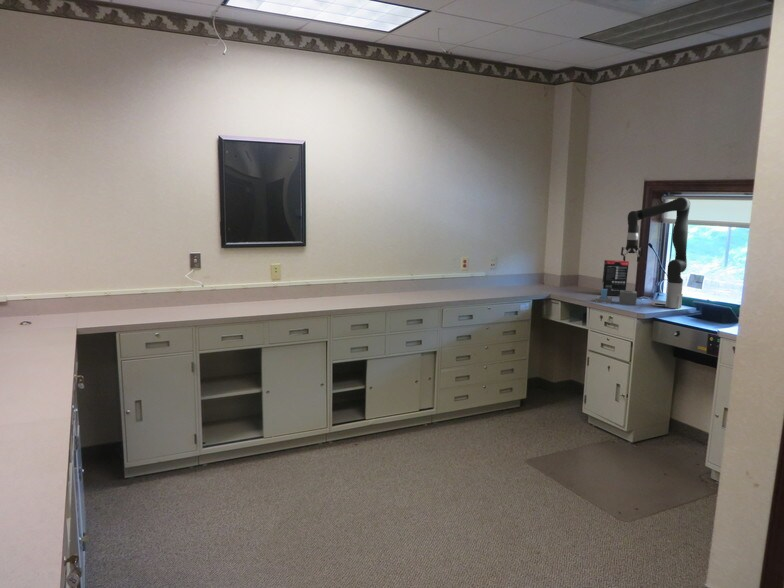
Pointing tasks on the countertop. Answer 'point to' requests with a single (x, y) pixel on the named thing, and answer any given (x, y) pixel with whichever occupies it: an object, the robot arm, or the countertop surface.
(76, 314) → the countertop surface
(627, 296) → the jack block
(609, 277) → the graphics card box
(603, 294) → the plug
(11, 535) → the countertop surface
